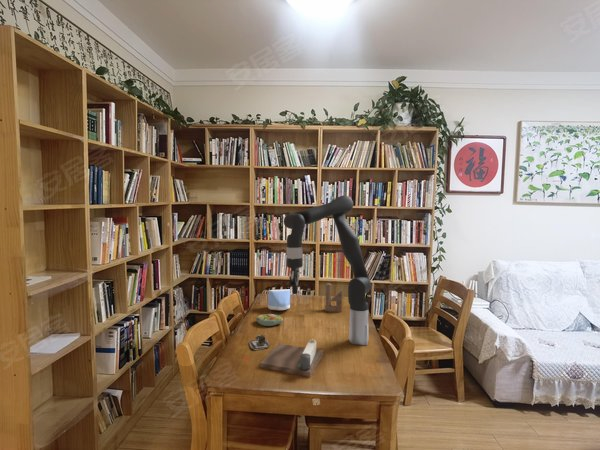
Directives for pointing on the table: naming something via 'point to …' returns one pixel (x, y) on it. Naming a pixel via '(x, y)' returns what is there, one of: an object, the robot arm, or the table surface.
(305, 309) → the table surface
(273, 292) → the retro all-in-one computer
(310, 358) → the white rectangular block
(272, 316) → the cell model
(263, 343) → the dark grey gadget
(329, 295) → the brown notched block
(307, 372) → the board
